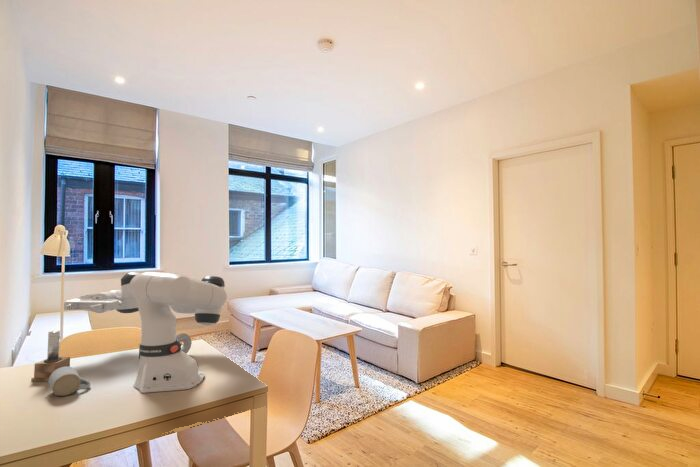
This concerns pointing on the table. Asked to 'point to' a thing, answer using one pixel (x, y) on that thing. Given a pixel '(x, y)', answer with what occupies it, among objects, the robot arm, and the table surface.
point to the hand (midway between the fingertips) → (79, 308)
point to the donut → (184, 342)
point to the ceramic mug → (66, 381)
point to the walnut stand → (49, 368)
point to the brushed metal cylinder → (53, 345)
